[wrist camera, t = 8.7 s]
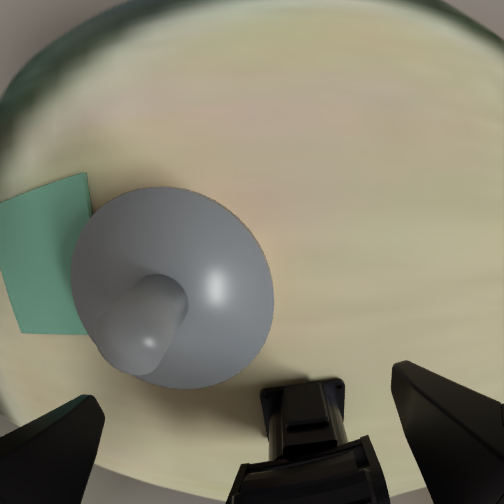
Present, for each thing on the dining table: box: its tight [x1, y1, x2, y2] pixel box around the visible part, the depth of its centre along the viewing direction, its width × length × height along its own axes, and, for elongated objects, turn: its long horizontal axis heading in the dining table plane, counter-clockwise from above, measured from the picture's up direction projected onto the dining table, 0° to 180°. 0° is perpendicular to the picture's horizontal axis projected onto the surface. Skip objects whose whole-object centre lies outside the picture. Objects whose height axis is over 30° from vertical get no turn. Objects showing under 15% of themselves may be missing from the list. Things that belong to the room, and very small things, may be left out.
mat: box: [0, 173, 93, 335], centre depth 20 cm, size 12×12×1 cm
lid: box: [70, 187, 274, 389], centre depth 13 cm, size 12×12×5 cm
